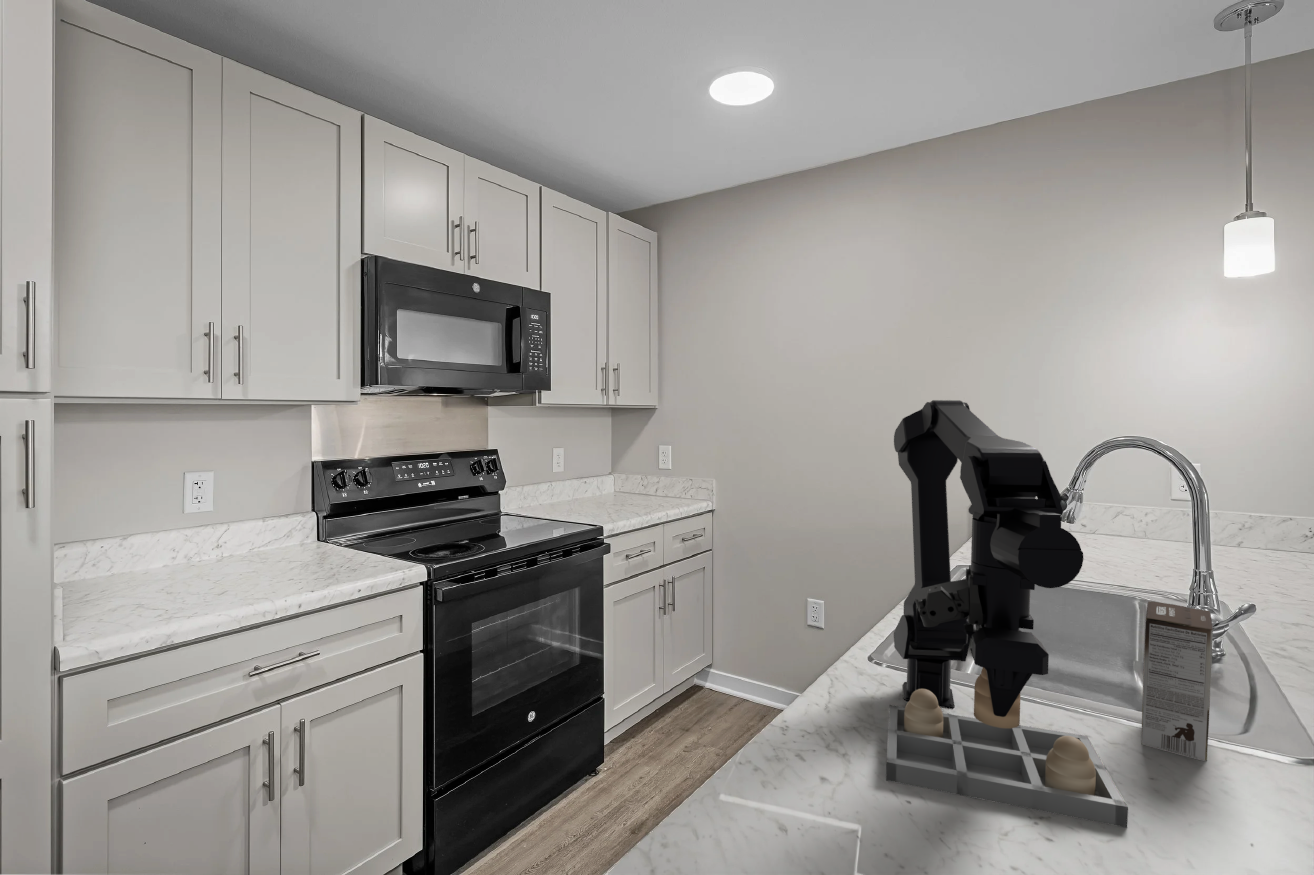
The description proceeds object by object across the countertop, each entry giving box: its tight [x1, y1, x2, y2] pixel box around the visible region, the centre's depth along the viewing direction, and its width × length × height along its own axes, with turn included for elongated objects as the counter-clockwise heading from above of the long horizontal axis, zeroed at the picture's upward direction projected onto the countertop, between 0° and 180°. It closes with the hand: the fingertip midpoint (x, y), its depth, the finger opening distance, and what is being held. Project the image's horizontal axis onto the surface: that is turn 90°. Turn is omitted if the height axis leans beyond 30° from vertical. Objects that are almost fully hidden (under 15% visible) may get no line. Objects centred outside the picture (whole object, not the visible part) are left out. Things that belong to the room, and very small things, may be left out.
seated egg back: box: [904, 689, 944, 738], centre depth 79 cm, size 4×4×6 cm
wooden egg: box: [973, 667, 1021, 728], centre depth 70 cm, size 4×4×6 cm
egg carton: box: [885, 704, 1129, 829], centre depth 74 cm, size 15×22×2 cm
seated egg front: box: [1045, 736, 1096, 796], centre depth 68 cm, size 4×4×6 cm
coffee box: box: [1140, 600, 1214, 762], centre depth 80 cm, size 9×6×16 cm
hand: (996, 706), depth 70 cm, fingers closed on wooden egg, 4 cm apart
